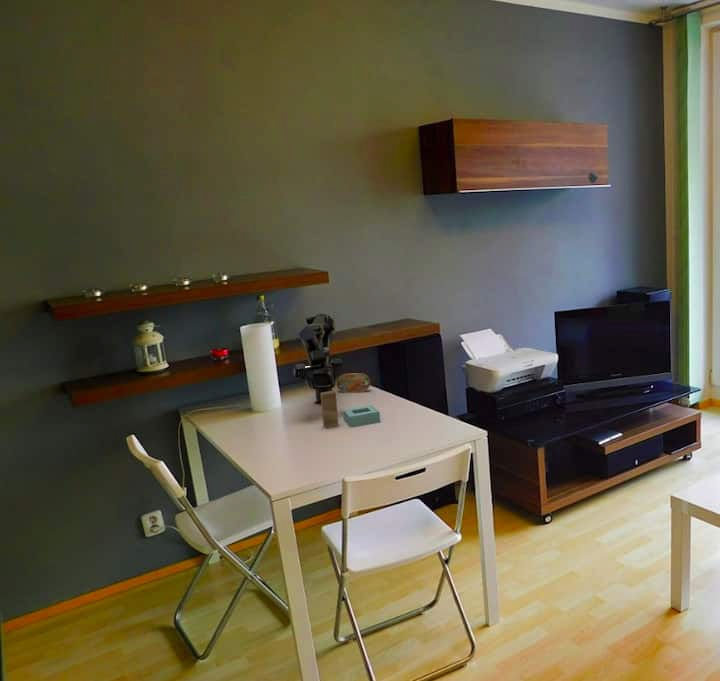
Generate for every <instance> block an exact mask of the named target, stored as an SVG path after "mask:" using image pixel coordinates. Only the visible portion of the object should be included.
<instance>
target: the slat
mask: <svg viewBox="0 0 720 681" xmlns="http://www.w3.org/2000/svg"><path fill="white" fill-rule="evenodd" d="M320 394H321V412H322V424H323V427H324V429H325V428H326V429H331V427H332V428H337V427H339V416H338V407H337V406H338V405H337V397H336V396H337V395H336V392H335V391H334V390H332V391H328V392H322V393H320Z"/></svg>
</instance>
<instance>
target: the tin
mask: <svg viewBox="0 0 720 681" xmlns="http://www.w3.org/2000/svg"><path fill="white" fill-rule="evenodd" d="M370 386H371V379H370V378H369V376H368V375H367V374H365V373H364V372H363V373H362V372H360V373H357V372H356V373H344V374H341V375H339V377H338V378H337V380H336V387H337V389H338V390H339V391H340V392H342V393H345V394H346V393H347V394H349V393H350V394H351V393H352V394H353V393H364V392H366V391H367V390H368V389H369V388H370Z"/></svg>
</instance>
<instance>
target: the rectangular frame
mask: <svg viewBox="0 0 720 681" xmlns="http://www.w3.org/2000/svg"><path fill="white" fill-rule="evenodd" d="M342 412H343V414H342V415H343V420H344V422H346V424H347V425H348V426H349V427H350V428H353V427H359V426H364V425H365V426H366V425H369V424H370V425H371V423H372V424H377V423H380V422H381V414H380V411H379V410H378V409H377V407H375V406H374V405H372V404H371V405H365V406H359V407H353V408H347V409H343V410H342Z"/></svg>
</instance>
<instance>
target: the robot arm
mask: <svg viewBox="0 0 720 681" xmlns="http://www.w3.org/2000/svg"><path fill="white" fill-rule="evenodd" d="M314 316H315V318H314V319H313V322H311V323H310V324H307V325H304V328H303V329H302V330H300V332H299V334H298V335H299V338H300V340H301V342H302V345H303V347H304V348H305V353H306V355H307V360H308V364H309V365H308V366H306V365H305V363H298V364H297V363H296V364H295V365H294V366H293V376H294V378H295V379H298V380H301V381H303V382H304V384H306V386H307V387H308V388H309V389H311V390H315V398H316V401H314V404H321V394H320V393H322V392H328V391H333V389H334V388H335V387H336V382H337V380H336V378H337V374H339V373H340V372H341V371H342V368H343V365H344V364H343V360H342V359H341V358H333V359H331V360H330V362H329V356H330V354H331V353H330V345H331V343H330V342H331V340H332V339H333V337H335V336H334V335H335V332H336V322H335V320H334V319H333V318H332V317H329V316H328V314H326V313H320V314H316V315H314ZM308 372H312V375H311V376H309V375H308ZM310 377H311V378H310ZM321 405H322V404H321Z"/></svg>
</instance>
